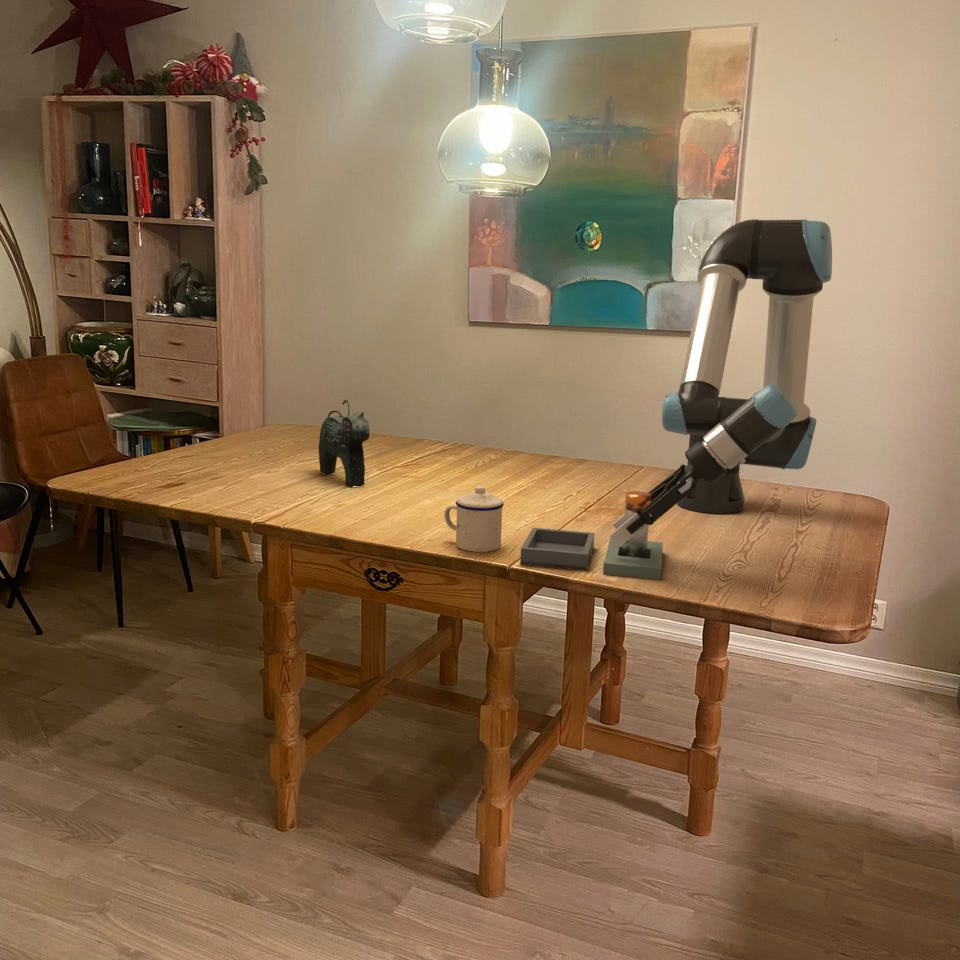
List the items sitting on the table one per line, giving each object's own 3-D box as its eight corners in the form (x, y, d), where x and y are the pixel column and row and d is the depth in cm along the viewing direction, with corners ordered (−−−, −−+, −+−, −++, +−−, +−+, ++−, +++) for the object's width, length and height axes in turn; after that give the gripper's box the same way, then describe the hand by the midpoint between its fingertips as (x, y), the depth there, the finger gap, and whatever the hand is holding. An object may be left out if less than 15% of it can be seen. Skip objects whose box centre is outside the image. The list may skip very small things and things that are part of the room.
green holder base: (609, 547, 180) (610, 537, 179) (662, 552, 178) (663, 542, 178) (602, 573, 165) (603, 563, 164) (660, 579, 163) (661, 568, 162)
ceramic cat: (372, 487, 221) (372, 404, 217) (347, 490, 218) (347, 405, 213) (334, 470, 237) (334, 392, 233) (311, 473, 234) (310, 394, 229)
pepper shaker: (621, 558, 174) (626, 490, 171) (646, 560, 173) (651, 492, 170) (620, 565, 170) (625, 496, 167) (645, 567, 169) (651, 498, 166)
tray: (532, 542, 182) (532, 527, 181) (593, 547, 180) (594, 532, 179) (520, 564, 169) (520, 548, 168) (586, 570, 166) (587, 554, 166)
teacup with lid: (509, 543, 181) (512, 485, 178) (488, 556, 173) (490, 495, 170) (455, 534, 186) (457, 477, 183) (432, 545, 178) (434, 486, 175)
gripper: (731, 483, 155) (626, 567, 162) (726, 459, 173) (632, 535, 180) (701, 449, 154) (597, 535, 161) (699, 429, 173) (606, 506, 180)
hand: (616, 535), depth 171 cm, fingers open, 7 cm apart
